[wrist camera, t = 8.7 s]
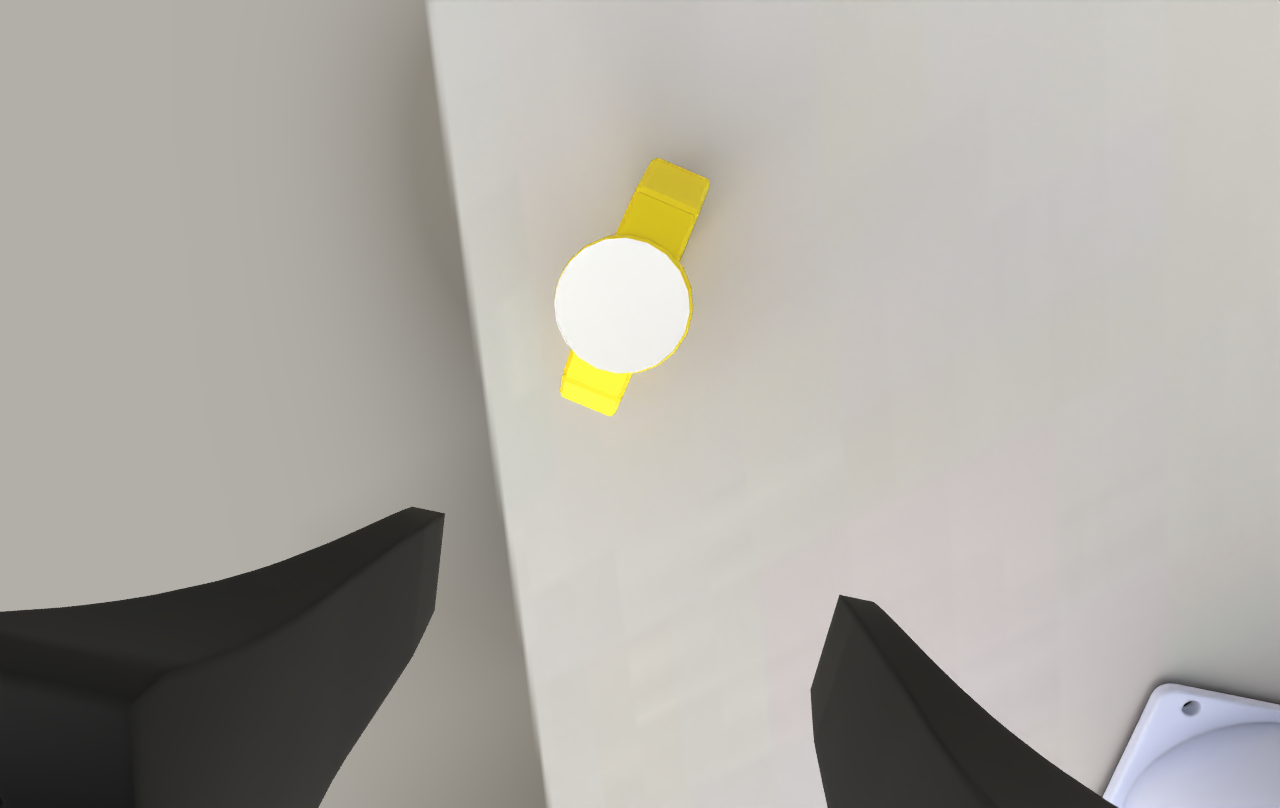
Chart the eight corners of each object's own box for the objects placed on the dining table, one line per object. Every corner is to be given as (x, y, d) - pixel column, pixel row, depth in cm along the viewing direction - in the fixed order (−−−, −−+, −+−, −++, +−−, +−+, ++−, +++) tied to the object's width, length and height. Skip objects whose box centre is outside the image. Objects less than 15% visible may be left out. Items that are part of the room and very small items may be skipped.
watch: (649, 390, 21) (627, 470, 16) (559, 353, 21) (505, 420, 16) (735, 189, 20) (746, 198, 14) (638, 147, 19) (608, 139, 14)
